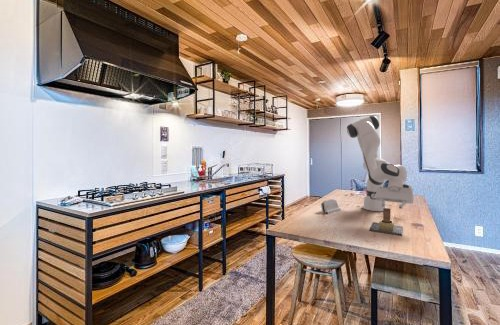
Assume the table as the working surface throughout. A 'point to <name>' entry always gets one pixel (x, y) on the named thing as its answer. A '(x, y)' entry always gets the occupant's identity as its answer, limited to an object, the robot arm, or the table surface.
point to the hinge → (330, 206)
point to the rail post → (386, 215)
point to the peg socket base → (386, 228)
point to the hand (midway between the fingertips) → (391, 207)
